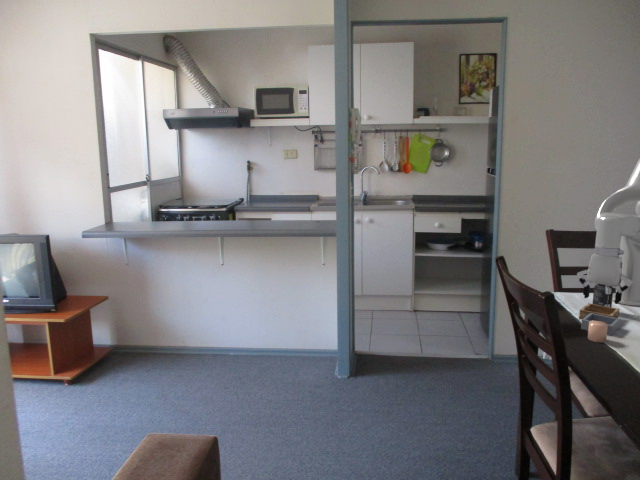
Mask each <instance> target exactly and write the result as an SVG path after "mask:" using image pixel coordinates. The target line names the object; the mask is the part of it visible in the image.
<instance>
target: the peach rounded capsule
mask: <svg viewBox="0 0 640 480" xmlns="http://www.w3.org/2000/svg"><path fill="white" fill-rule="evenodd" d="M607 328H608V324H607V323H605V322H601V321H590V322H589V329H588V330H587V339H588V340H589V341H591V342H594V343H606V342H607V337H608V335H607Z"/></svg>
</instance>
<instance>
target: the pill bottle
mask: <svg viewBox="0 0 640 480" xmlns="http://www.w3.org/2000/svg"><path fill="white" fill-rule="evenodd" d="M613 294H614V286H607V285H601V284H595V285H594V288H593V296H592V304H595V305H600V306H606V307H611V308H613V306H612V305H613V300H612V298H613Z"/></svg>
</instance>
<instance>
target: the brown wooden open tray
mask: <svg viewBox="0 0 640 480" xmlns="http://www.w3.org/2000/svg"><path fill="white" fill-rule="evenodd" d="M590 313H593V314H598V315H603V316H608V317H613V318H618V319H620V317H619V316H620V308H616V307H606V306H600V305H595V304H593V303H589V302H588V303H587V304H586V305H585V306H583V307H582V308H581V309H579V313H578V314H579V316H578V319H579V320H580V319H583V318H585V317H586V316H587V315H588V314H590Z"/></svg>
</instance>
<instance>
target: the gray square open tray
mask: <svg viewBox="0 0 640 480" xmlns="http://www.w3.org/2000/svg"><path fill="white" fill-rule="evenodd" d="M590 321H601V322H605V323H607V324H608V328H607V336H612V335H614V334H615V332H616V331H618V329H619V328H620V321H621V318H613V317H608V316H603V315H598V314H593V313H590V314H588V315H587V316H586V317H585V318H583V319H582V320H581V322H580V323H581V324H580V325H581V326H580V329H581V330H585V331H588V329H589V322H590Z"/></svg>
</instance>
